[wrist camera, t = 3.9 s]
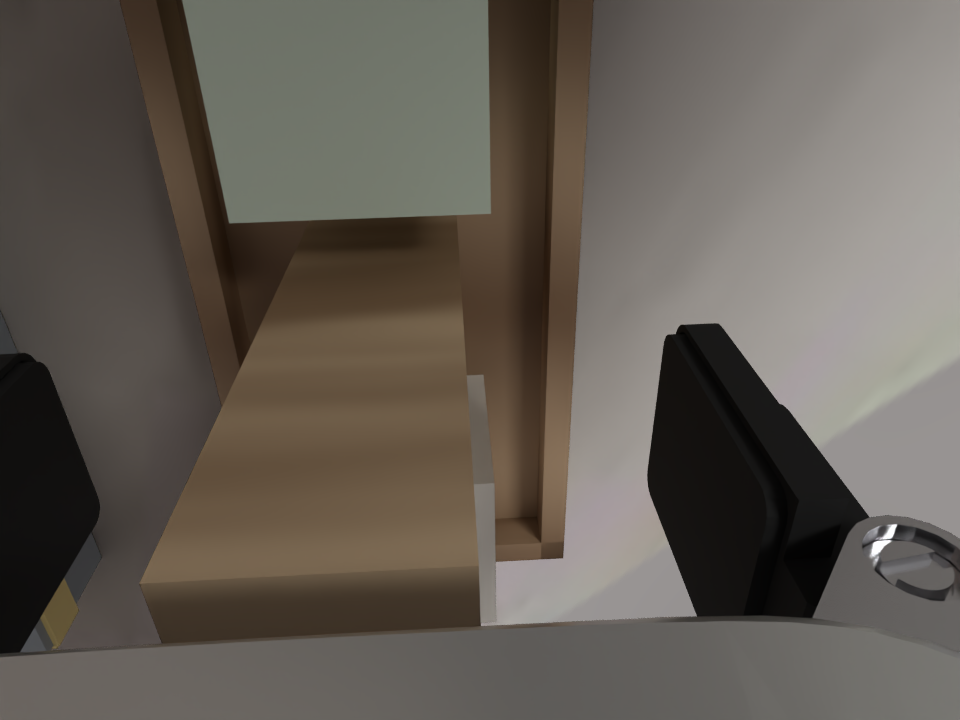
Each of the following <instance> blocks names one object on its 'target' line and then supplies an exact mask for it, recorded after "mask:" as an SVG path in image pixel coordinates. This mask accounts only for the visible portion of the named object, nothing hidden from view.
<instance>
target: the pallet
mask: <svg viewBox="0 0 960 720" xmlns="http://www.w3.org/2000/svg"><path fill="white" fill-rule="evenodd" d="M593 2H594V0H488V38H489V112H490V187H491V214H471V215H444V216H416V217H389V218H362V219H334V220H307V221H280V222H252V223H229V220H228V215H227V210H226V206H225V201H224V196H223V191H222V187H221V182H220V177H219V172H218V168H217V163H216V158H215V153H214V149H213V144H212V139H211V134H210V130H209V125H208V120H207V115H206V111H205V106H204V101H203V96H202V92H201V87H200V82H199V77H198V73H197V68H196V63H195V58H194V54H193V49H192V44H191V40H190V35H189V30H188V25H187V21H186V16H185V11H184V6H183V2H182V0H120V4H121V8H122V12H123V16H124V20H125V24H126V28H127V32H128V36H129V40H130V44H131V48H132V52H133V56H134V60H135V64H136V68H137V72H138V76H139V80H140V84H141V88H142V92H143V96H144V100H145V104H146V108H147V112H148V116H149V120H150V124H151V128H152V132H153V136H154V140H155V144H156V148H157V152H158V156H159V160H160V164H161V168H162V172H163V176H164V180H165V183H166V187H167V191H168V195H169V199H170V203H171V207H172V211H173V215H174V219H175V223H176V227H177V231H178V235H179V239H180V243H181V247H182V251H183V255H184V259H185V263H186V267H187V271H188V275H189V279H190V283H191V287H192V291H193V295H194V299H195V303H196V307H197V311H198V315H199V319H200V323H201V327H202V331H203V335H204V339H205V343H206V347H207V351H208V355H209V359H210V363H211V367H212V370H213V374H214V378H215V382H216V386H217V390H218V394H219V398H220V402H221V406H222V408H221V411H220V413H219V415H218V417H217V419H216V421H215V423H214V425H213V428H212V430H211V432H210V434H209V436H208V438H207V440H206V442H205V445H204V447H203V449H202V451H201V453H200V455H199V457H198V459H197V462H196V464H195V466H194V468H193V470H192V472H191V474H190V477H189V479H188V481H187V483H186V485H185V487H184V489H183V491H182V494H181V496H180V498H179V500H178V502H177V504H176V506H175V508H174V511H173V513H172V515H171V517H170V519H169V521H168V523H167V525H166V528H165V530H164V532H163V534H162V536H161V538H160V540H159V543H158V545H157V547H156V549H155V551H154V553H153V555H152V557H151V560H150V562H149V564H148V566H147V568H146V570H145V572H144V574H143V577H142V579H141V581H140V583H139V585H140V587H141V590H142V592H143V595H144V598H145V600H146V603H147V605H148V608H149V611H150V613H151V616H152V618H153V621H154V624H155V626H156V629H157V632H158V634H159V637H160V639H161V642H162V644H167V643H184V642H201V641H218V640H236V639H253V638H271V637H288V636H306V635H324V634H342V633H360V632H378V631H397V630H417V629H436V628H456V627H475V626H481V618H480V585H479V559H478V544H477V528H476V512H475V496H474V481H473V465H472V449H471V434H470V418H469V402H468V386H467V375H483V376H484V386H485V396H486V405H487V415H488V425H489V435H490V445H491V454H492V464H493V474H494V486H495V560H496V562H499V561H518V560H537V559H556V558H563V550H564V531H565V513H566V495H567V477H568V458H569V440H570V422H571V404H572V385H573V367H574V349H575V331H576V312H577V294H578V276H579V258H580V239H581V221H582V203H583V185H584V166H585V148H586V130H587V112H588V93H589V75H590V57H591V39H592V20H593Z"/></svg>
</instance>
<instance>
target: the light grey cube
mask: <svg viewBox="0 0 960 720" xmlns="http://www.w3.org/2000/svg"><path fill="white" fill-rule="evenodd" d="M467 386H468V402H469V418H470V434H471V449H472V465H473V481H474V496H475V512H476V528H477V544H478V559H479V585H480V618H481V623H488V622H496V560H495V486H494V474H493V464H492V454H491V445H490V435H489V425H488V415H487V405H486V396H485V386H484V376H483V375H467Z"/></svg>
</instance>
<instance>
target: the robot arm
mask: <svg viewBox="0 0 960 720" xmlns="http://www.w3.org/2000/svg"><path fill="white" fill-rule="evenodd" d="M647 477H648V488H649V492H650V496H651V498H652V501H653V503H654V506H655V509H656V511H657V514H658V516H659V519H660V521H661V524H662V527H663V529H664V532H665V534H666V537H667V540H668V542H669V545H670V547H671V550H672V552H673V555H674V558H675V560H676V563H677V565H678V568H679V571H680V573H681V576H682V578H683V581H684V583H685V586H686V589H687V591H688V594H689V596H690V599H691V601H692V604H693V607H694V609H695V612H696V614H697V617H655V618H639V619H618V620H594V621H572V622H553V623H533V624H514V625H494V626H475V627H456V628H436V629H417V630H397V631H378V632H360V633H342V634H324V635H306V636H288V637H271V638H253V639H236V640H218V641H201V642H184V643H167V644H149V645H132V646H116V647H100V648H84V649H68V650H52V651H36V652H20V651H21V650H22V648H23V646H24V645H25V643H26V641H27V640H28V638H29V636H30V635H31V633H32V631H33V630H34V628H35V626H36V624H37V623H38V621H39V619H40V618H41V616H42V614H43V613H44V611H45V609H46V608H47V606H48V604H49V603H50V601H51V599H52V597H53V596H54V594H55V592H56V591H57V589H58V587H59V586H60V584H61V582H62V581H63V579H64V577H65V575H66V574H67V572H68V570H69V569H70V567H71V565H72V564H73V562H74V560H75V559H76V557H77V555H78V554H79V552H80V550H81V548H82V547H83V545H84V543H85V542H86V540H87V538H88V537H89V535H90V533H91V532H92V530H93V528H94V527H95V525H96V523H97V521H98V517H99V511H100V504H99V499H98V496H97V493H96V491H95V488H94V486H93V483H92V480H91V478H90V475H89V473H88V470H87V468H86V465H85V462H84V460H83V457H82V455H81V452H80V450H79V447H78V444H77V442H76V439H75V437H74V434H73V432H72V429H71V426H70V424H69V421H68V419H67V416H66V414H65V411H64V408H63V406H62V403H61V401H60V398H59V396H58V393H57V390H56V388H55V385H54V383H53V380H52V378H51V375H50V372H49V370H48V369H47V367H46V366H45V365H44V364H43V363H41V362H36V361H35V359H34V358H33V357H32V356H31V355H29V354H26V353H15V354H0V720H960V539H959V538H958V537H956V536H955V535H953V534H952V533H950V532H947V531H945V530H943V529H941V528H939V527H936V526H934V525H932V524H930V523H926V522H923V521H920V520H916V519H912V518H909V517H901V516H890V515H885V516H876V517H869V516H868V515H867V513H866V512H865V511H864V509H863V508H862V507H861V505H860V504H859V503H858V501H857V500H856V499H855V497H854V496H853V495H852V493H851V492H850V491H849V489H848V488H847V487H846V486H845V484H844V483H843V482H842V480H841V479H840V478H839V476H838V475H837V474H836V472H835V471H834V470H833V468H832V467H831V466H830V465H829V463H828V462H827V460H826V459H825V458H824V457H823V455H822V454H821V452H820V451H819V450H818V448H817V447H816V446H815V444H814V443H813V442H812V441H811V439H810V438H809V437H808V435H807V434H806V433H805V431H804V430H803V429H802V427H801V426H800V425H799V423H798V422H797V421H796V419H795V418H794V417H793V415H792V414H791V413H790V411H789V410H788V409H787V408H786V407H784V406H783V405H781V404H779V403H778V401H777V400H776V399H775V397H774V396H773V395H772V393H771V392H770V391H769V389H768V388H767V387H766V385H765V384H764V383H763V381H762V380H761V379H760V377H759V376H758V375H757V373H756V372H755V371H754V369H753V368H752V367H751V365H750V364H749V363H748V361H747V360H746V359H745V357H744V356H743V355H742V353H741V352H740V351H739V349H738V348H737V347H736V345H735V344H734V343H733V341H732V340H731V339H730V337H729V336H728V334H727V333H726V332H725V330H724V329H723V328H722V326H720V325H719V324H716V323H714V324H691V325H680V326H679V327H678V329H677V332H676V334H673V335H667V336H666V338H665V341H664V347H663V355H662V363H661V370H660V378H659V386H658V394H657V402H656V409H655V417H654V425H653V433H652V441H651V449H650V456H649V464H648V474H647Z"/></svg>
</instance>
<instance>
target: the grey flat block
mask: <svg viewBox="0 0 960 720" xmlns="http://www.w3.org/2000/svg"><path fill="white" fill-rule="evenodd" d="M15 353H18V352H17V350H16V348H15V345H14V343H13V340H12V338H11V335H10V333H9V331H8V328H7V326H6V323H5V321H4V318H3V316H2V314H1V311H0V354H15ZM101 558H102V557H101V555H100V552H99V550H98V547H97V545H96V542H95V540H94V538H93V535H92V533H90V535H89V537H88V538H87V540H86V542H85V543H84V545H83V547H82V548H81V550H80V552H79V554H78V555H77V557H76V559H75V560H74V562H73V564H72V565H71V567H70V569H69V570H68V572H67V574H66V575H65V577H64V579H63V581H62V582H61V584H60V586H59V587H58V589H57V591H56V592H55V594H54V596H53V597H52V599H51V601H50V603H49V604H48V606H47V608H46V609H45V611H44V613H43V614H42V616H41V618H40V619H39V621H38V623H37V624H36V626H35V628H34V630H33V631H32V633H31V635H30V636H29V638H28V640H27V641H26V643H25V645H24V646H23V648H22V650H21V651H20V652H36V651H51V649H57V648H58V646H60V645H61V643H62V641H63V639H64V637H65V635H66V633H67V632H68V630H69V628H70V626H71V624H72V622H73V620H74V619H75V617H76V615H77V613H78V611H79V609H78V607H77V605H76V603H77V602H78V600H79V598H80V596H81V594H82V592H83V591H84V589H85V587H86V585H87V583H88V582H89V580H90V578H91V576H92V574H93V572H94V571H95V569H96V567H97V565H98V563H99V562H100V560H101Z"/></svg>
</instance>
